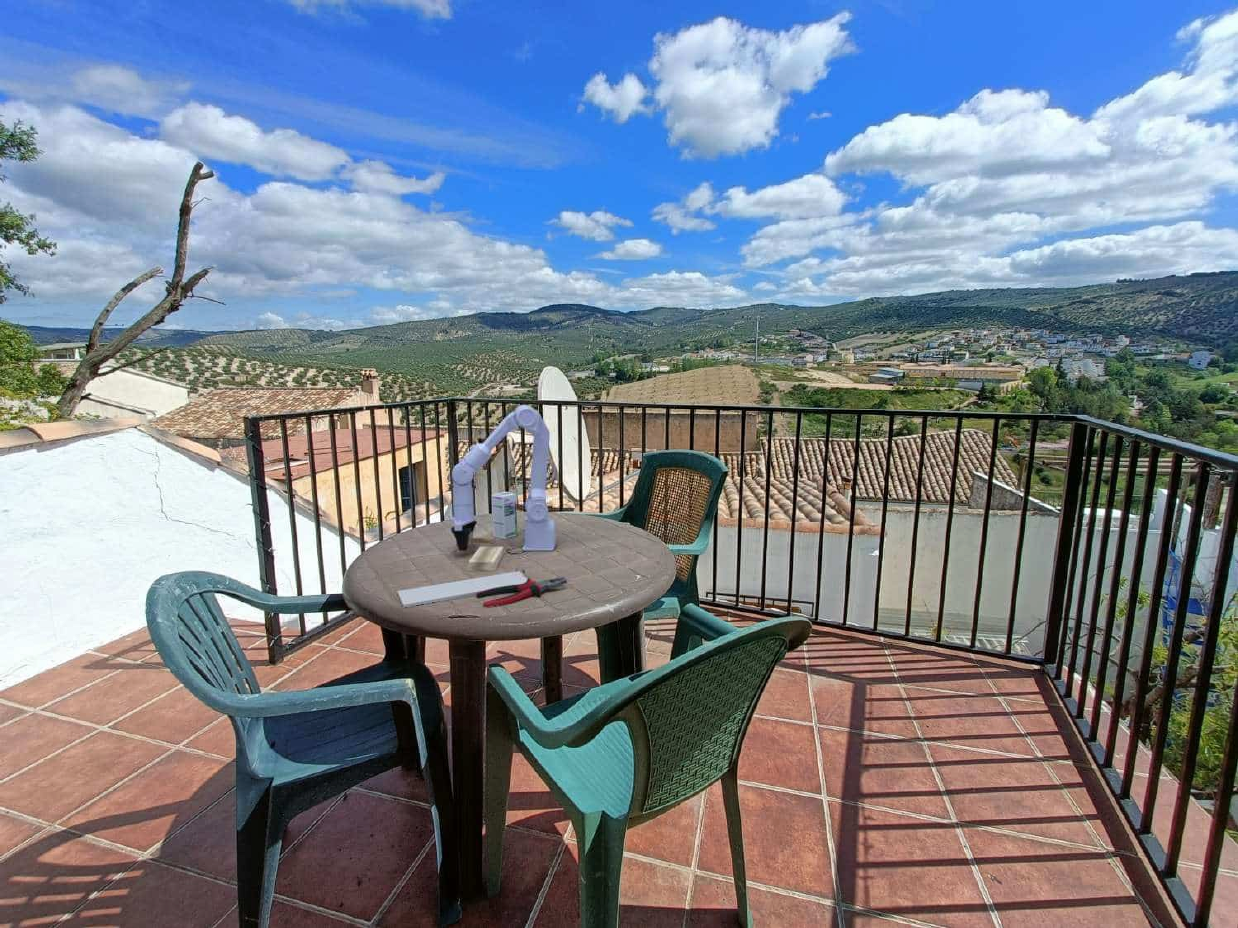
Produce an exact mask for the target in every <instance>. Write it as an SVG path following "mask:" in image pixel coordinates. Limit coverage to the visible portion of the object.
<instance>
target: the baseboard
mask: <svg viewBox="0 0 1238 928" xmlns="http://www.w3.org/2000/svg"><path fill="white" fill-rule="evenodd" d="M521 572H522V573H523V574H524V575H523V574H522V573H521ZM521 572H520V571H518V568H516V571H512V572H506V573H500V574H494V575H493V574H492V575H487V576H482V577H476V578H470V579H465V580H464V579H463V580H457V581H451V582H446V583H439V584H434V585H427V586H421V587H414V588H409V589H404V590H403V589H402V590H398V591H397V592H396V594H397V593H398V594H397V596H398V598H400V599H399V601H400V603H401V606H402V605H403V606H402V608H403V609H405V608H404V607H408V606H412V605H419V606H422V605H421V604H424V605H427V604H426V603H430V604H433V603H432V602H436V603H439V602H438V601H441V602H445V601H452V600H457V598H458V599H462V597H464V598H468V597H467V596H469V597H475V596H476V594H477V593H478V592H481V591H484V590H488V589H492V588H496V587H502V586H509V585H517V584H523V583H525V582H526V581H527V579H528V578H530V579H531V580H532V578H531V577H529V576H527V574H526V571H525V570H523V569H521ZM525 576H526V577H525ZM408 608H409V607H408Z"/></svg>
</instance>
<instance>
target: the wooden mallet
mask: <svg viewBox="0 0 1238 928" xmlns="http://www.w3.org/2000/svg"><path fill="white" fill-rule="evenodd" d="M495 543H496V537H474V531H470V534H469V538H468V546H467V550H466V551H460V550H459V548H458V544H457V541H456V544H455V545H456V555H471V554H472V553H473V551H474V544H491V545H492V544H495Z"/></svg>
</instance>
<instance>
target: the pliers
mask: <svg viewBox="0 0 1238 928" xmlns="http://www.w3.org/2000/svg"><path fill="white" fill-rule="evenodd" d="M530 578H531V577H529V578H528V577H527V578H526V579H527V581H526V582H525V583H523V584H517V585H509V586H502V587H496V588H492V589H488V590H484V591H481V592H478V593H477V594H476V595H475V596H476V598H477V599H481V598H487V597H490V596H495V595H501V594H507V593H508V594H509V593H513V594H511V595H507V596H504V597H500V598H495V599H492V600H487V601H484V602H483V603H482V605H483V606H484V607H489V608H491V607H490V606H495V607H498V606H497V605H500V606H504V604H505V605H508V604H511V603H514V602H517V601H519V600H522V599H524V598H526V597H531V596H532V597H535V596H536V597H535V598H541V596H542V595H541V594H542V592H543V591H545V590H551V589H553V588H557V587H559V586H562V585H566V584H568V580H567V578H565V576H561V577H555V578H549V579H545V580H542V581H535V580H532V578H531V579H530ZM515 592H516V593H515ZM486 596H487V597H486ZM484 607H483V608H484Z"/></svg>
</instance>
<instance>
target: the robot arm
mask: <svg viewBox="0 0 1238 928" xmlns="http://www.w3.org/2000/svg"><path fill="white" fill-rule="evenodd" d="M519 427H521V428H522V429H524V430H527V432H529V434H531V436H532V437H533V442H532V454H531V455H532V456H531V469H530V483H529V485H530V486H529V490H528V495H527V498H526V500H525V502H524V509H525V511H526V513H527V514H526V516H525V517H524V545H523V546H522V551H530V552H531V551H544V552H545V551H554V550H555V547H556V543H557V542H556V541H557V538H556V520H555V519H552V518H549V516H548V515H549V508H548V505H547V491H546V490H547V489H546V485H547V476H548V475H547V474H548V462H549V460H548V459H549V449H550V429H549V428H548V426H547V425H546V423H545V421H544V419H543V418H542V416H541V414H540V413H539V412H538V411H537V410H536V409H535V408H533V407H531V406H529V405H527V404H520V405H518V406H517V407H516V408H515V409H514V411H511V412H510V413H509V414H507V416H506V417H504V418H503V419H502V421H501V422H500V423H499V424H498V426H497V427H496V428H495V429H494V430H493V431H492V432H491V434H490V435H489V436H488V437H487V438H486V439H485V440H484V441H483V442H482V443H476V444H475V445H473V444H472V445H470V447H469V451H468V452H467V453H466V454H465V456H464V457H463V458H459V460H458V462H459V463H457V464H456V465H454V467H453V468H452V472H451V477H452V480H453V481H452V482H453V483H452V486H453V489H452V496H453V497H452V498H453V500H452V501H453V502H452V503H453V516H451V517H450V518H449V521H450V522H453V523H454V524H453V525H454V526H452V527H451V528H450V531H451V533H452V534H453V536H454V538H455V540H456V541H457V544H458V548H459V550H460V551H466V550H467V546H468V538H469V534H470V531H473V532H474V531H475V527H476V525H477V520H475V516H474V515H475V513H474V511H475V510H474V489H473V487H472V483H473V482H472V480H473V479H474V478H473V477H474V474H475V473H478V472H479V471H480V470H481V468H483V467H484V465H485V464H486V463H487V462H488V461H489V460H490V459H491V457H492V450H493V449H494V448H495V447H496V446H497V445H499V443H500V442H501V441H502V440H503V438H505V437H506V436H507V435H508V434H509V433H510V432H514V431H517V430H520V428H519Z"/></svg>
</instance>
